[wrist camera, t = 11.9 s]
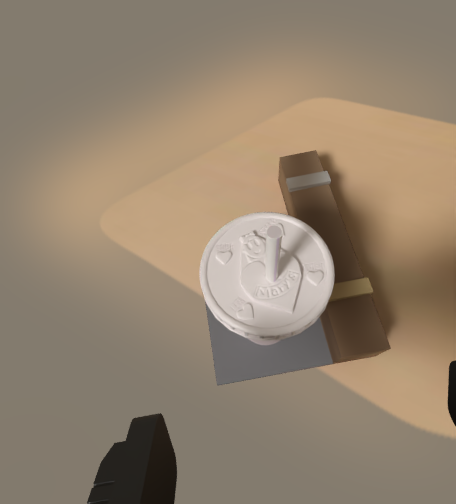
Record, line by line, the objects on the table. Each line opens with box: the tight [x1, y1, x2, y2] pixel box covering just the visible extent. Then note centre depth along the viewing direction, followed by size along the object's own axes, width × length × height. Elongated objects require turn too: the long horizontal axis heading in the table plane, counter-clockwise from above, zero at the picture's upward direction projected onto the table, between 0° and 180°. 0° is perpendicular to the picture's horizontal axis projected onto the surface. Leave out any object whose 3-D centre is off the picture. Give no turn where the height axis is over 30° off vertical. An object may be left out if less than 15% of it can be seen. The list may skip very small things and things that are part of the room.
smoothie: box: [200, 212, 335, 345], centre depth 18 cm, size 6×6×14 cm
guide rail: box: [278, 150, 391, 364], centre depth 25 cm, size 3×16×3 cm, turn 9°
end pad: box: [205, 301, 333, 385], centre depth 24 cm, size 8×8×1 cm
